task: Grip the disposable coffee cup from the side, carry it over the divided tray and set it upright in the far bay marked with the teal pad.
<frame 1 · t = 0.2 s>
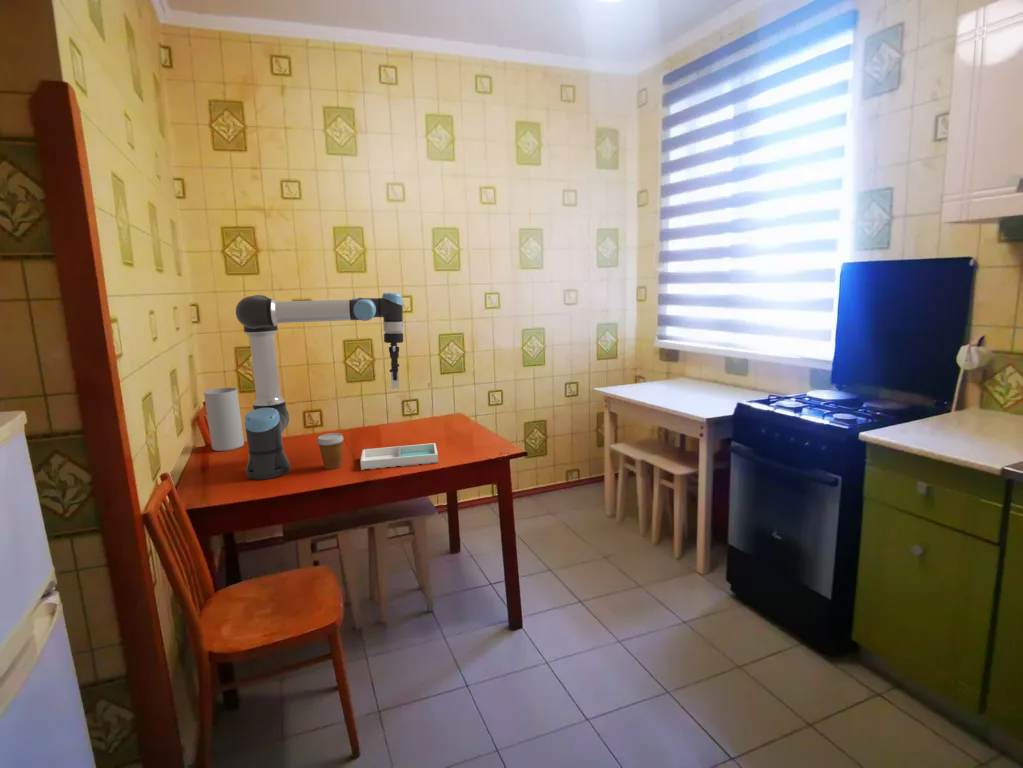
hand: (395, 385, 224), 27 cm above the table, tool pointing down, fingers open, 13 cm apart
cylinder vase: (228, 447, 241), on the table
divided tray: (400, 460, 216), on the table
disposable coffee cup: (333, 467, 212), on the table
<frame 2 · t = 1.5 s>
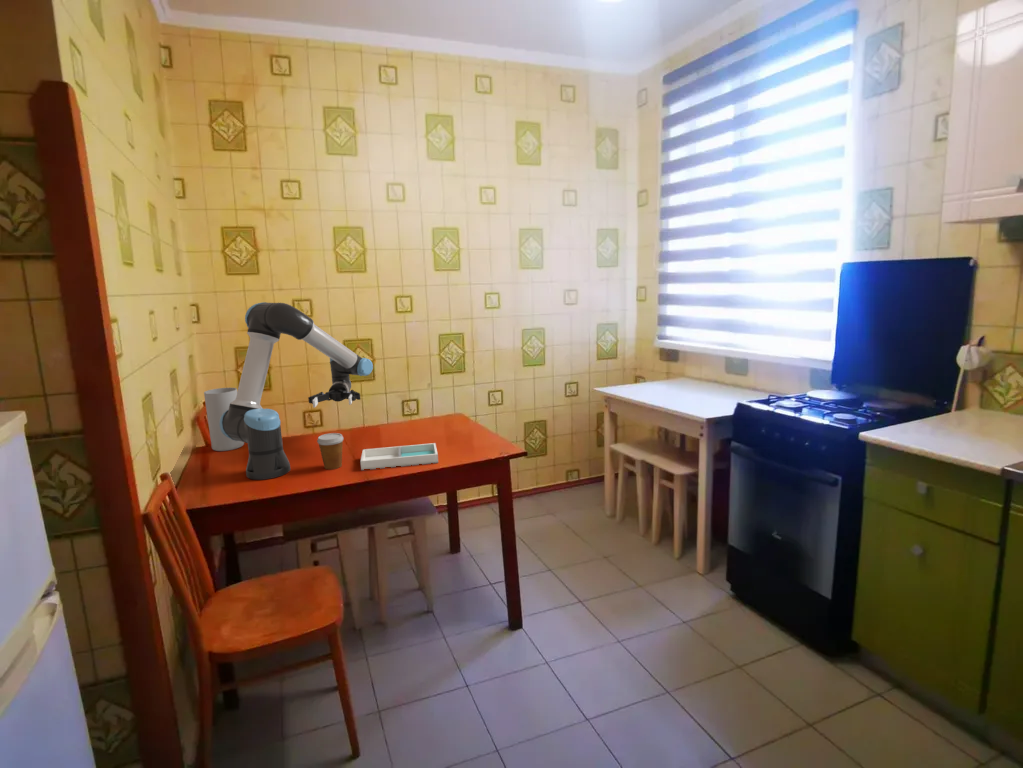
hand: (331, 402, 219), 22 cm above the table, tool horizontal, fingers open, 13 cm apart
nothing on the table moved.
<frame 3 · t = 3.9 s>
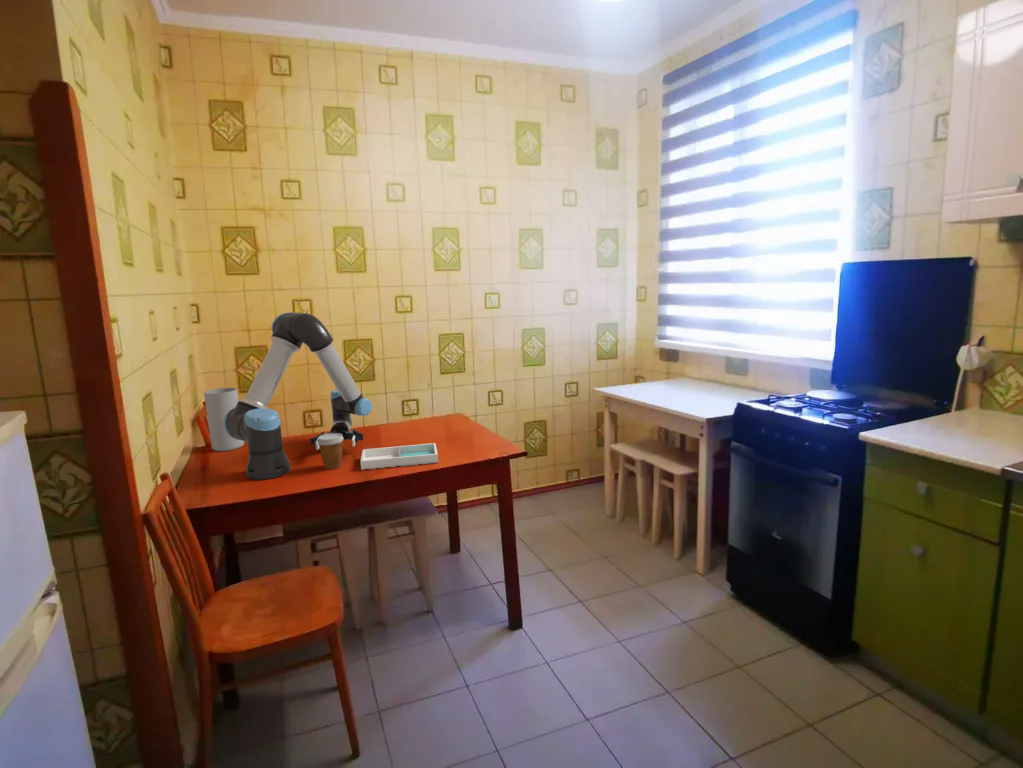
hand: (335, 444, 217), 6 cm above the table, tool horizontal, fingers open, 13 cm apart
nothing on the table moved.
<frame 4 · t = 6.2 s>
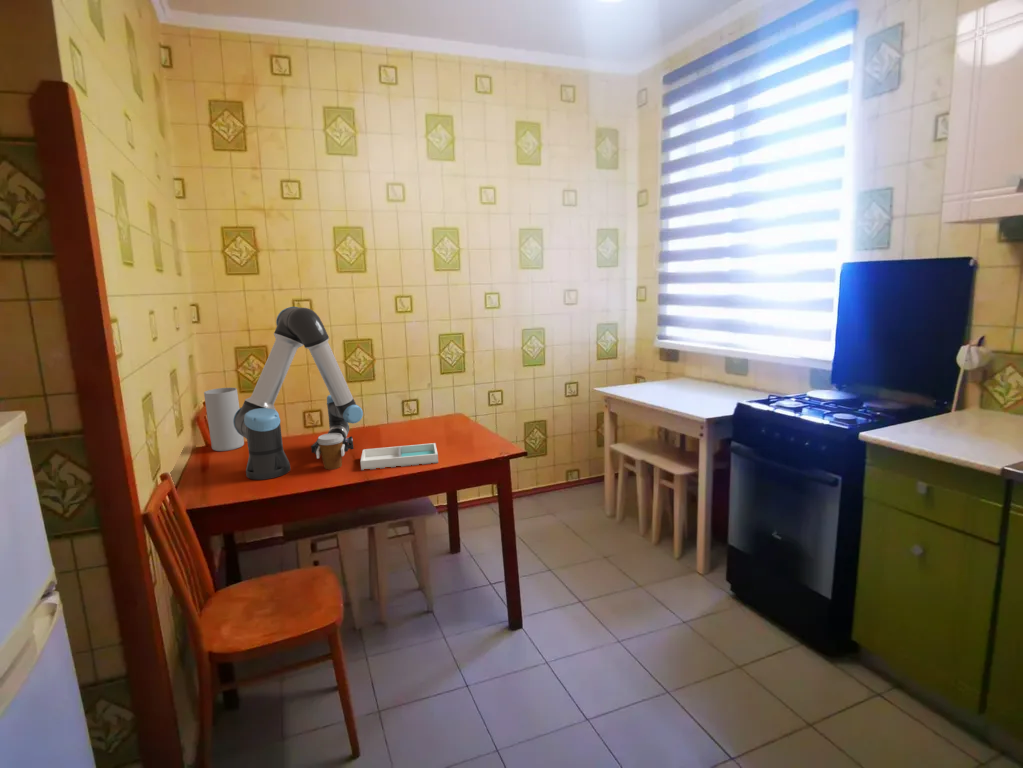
hand: (330, 453, 206), 7 cm above the table, tool horizontal, fingers closed on disposable coffee cup, 8 cm apart
disposable coffee cup: (333, 467, 212), on the table, touching gripper
everything else where it was.
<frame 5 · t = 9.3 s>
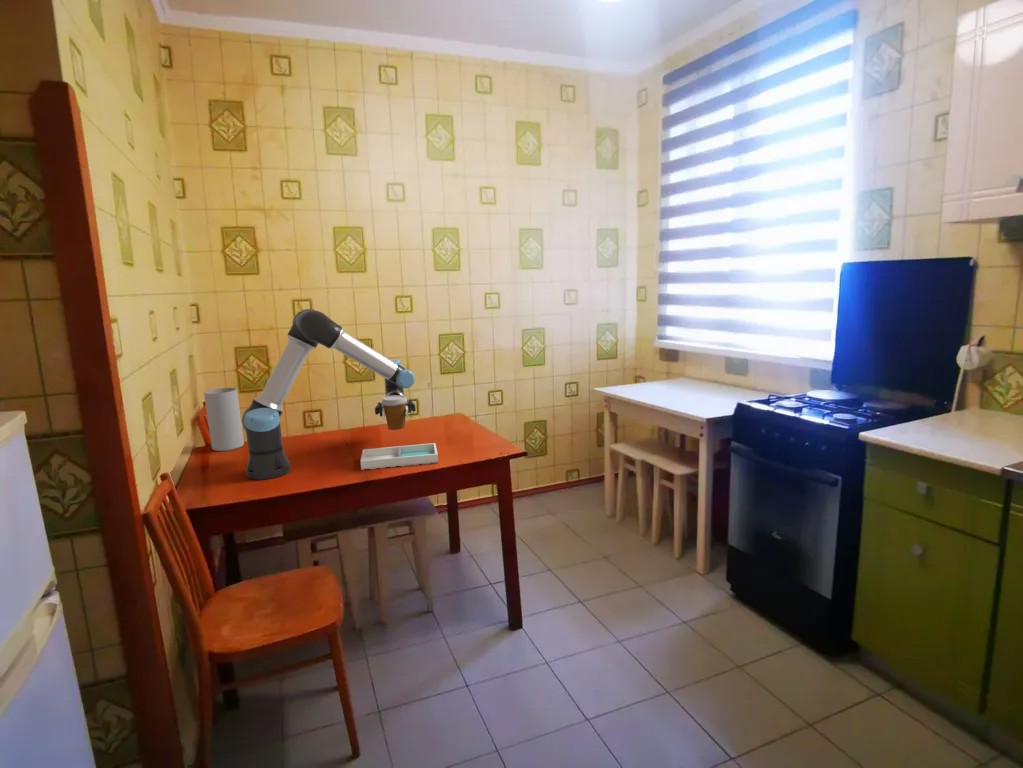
hand: (395, 414, 210), 19 cm above the table, tool horizontal, fingers closed on disposable coffee cup, 8 cm apart
disposable coffee cup: (396, 428, 216), point 12 cm above the table, touching gripper
everything else where it was.
when the fingers open (9 cm above the table, at t = 12.6 s): disposable coffee cup drops 1 cm, resting on divided tray.
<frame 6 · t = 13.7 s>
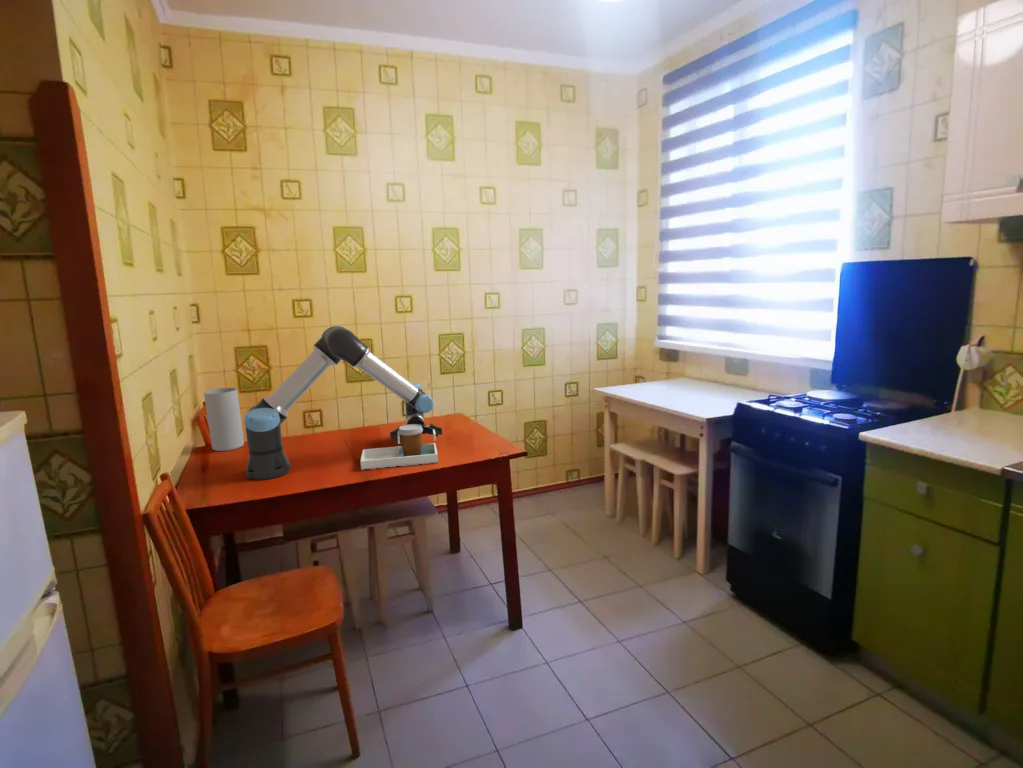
hand: (416, 438, 213), 9 cm above the table, tool horizontal, fingers open, 13 cm apart
disposable coffee cup: (412, 457, 217), point 1 cm above the table, touching gripper, divided tray
everything else where it was.
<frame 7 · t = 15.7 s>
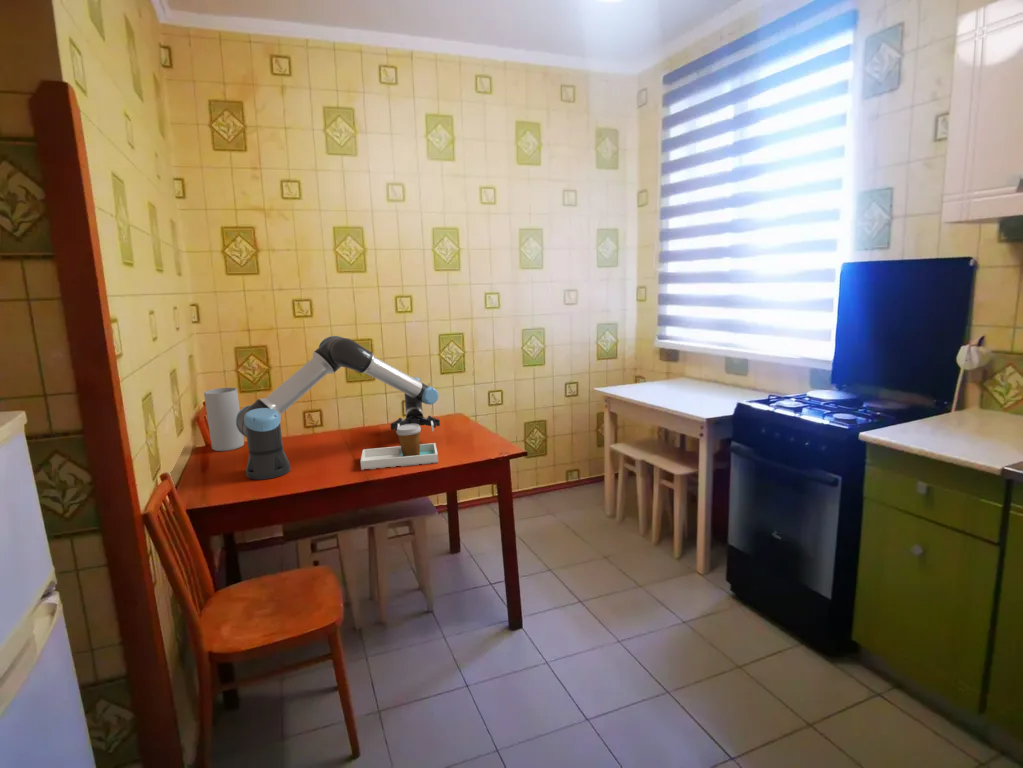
hand: (415, 429, 226), 9 cm above the table, tool horizontal, fingers open, 13 cm apart
disposable coffee cup: (411, 456, 218), point 1 cm above the table, touching divided tray
everything else where it was.
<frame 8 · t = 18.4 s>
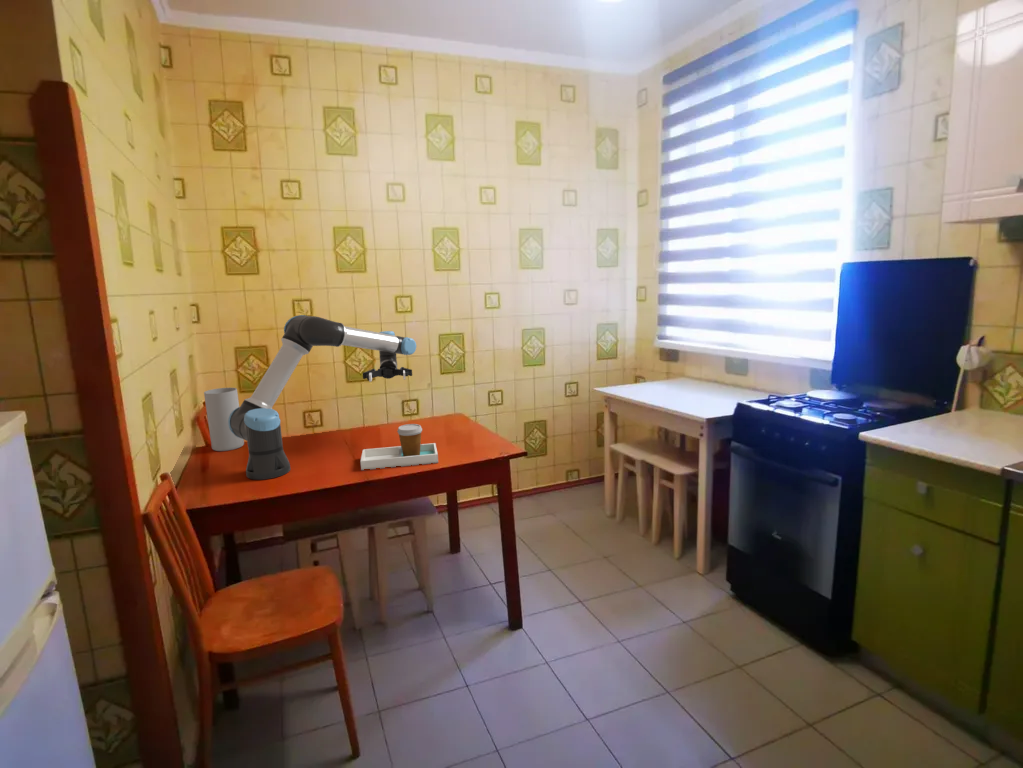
hand: (387, 377, 226), 30 cm above the table, tool horizontal, fingers open, 13 cm apart
nothing on the table moved.
at the end: disposable coffee cup inside the target area on the divided tray (2.6 cm from its centre), point 0.6 cm above the divided tray's base; disposable coffee cup tilted 1°; the gripper is holding nothing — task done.
